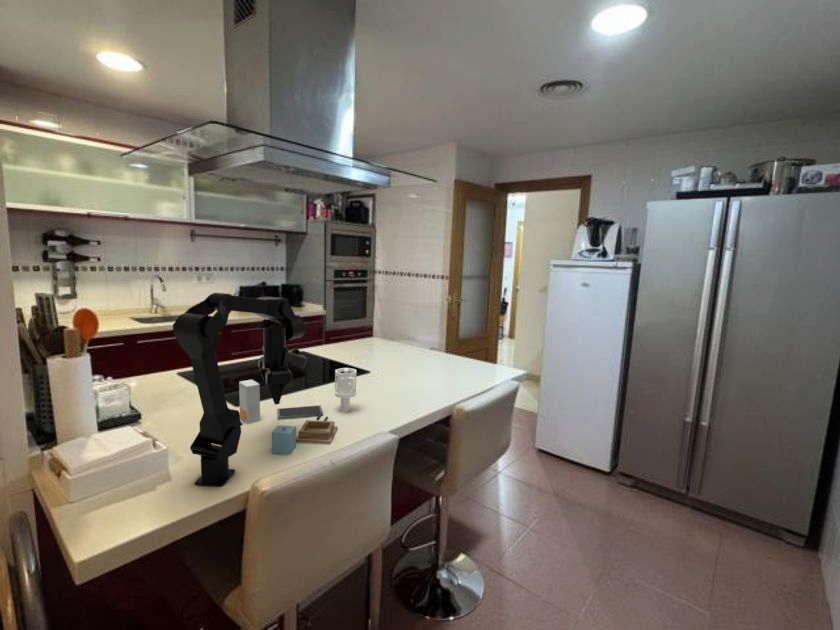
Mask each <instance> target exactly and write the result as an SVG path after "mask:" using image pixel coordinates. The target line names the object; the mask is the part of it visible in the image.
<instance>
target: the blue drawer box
mask: <svg viewBox="0 0 840 630" xmlns="http://www.w3.org/2000/svg"><path fill="white" fill-rule="evenodd" d="M296 437H297V426H296V425H276V426H275V428H274V429H273V430H272V431H271V454H272V455H292V454H293V453H294V450H295V449H296V447H297V443H296Z"/></svg>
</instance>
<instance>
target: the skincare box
mask: <svg viewBox="0 0 840 630" xmlns="http://www.w3.org/2000/svg"><path fill="white" fill-rule="evenodd" d="M238 382H239V383H238V384H239V385H238V389H239V395H238V397H239V413H240V419H241V420H243V421H244V422H245V423H246V424H251V423H255V422H259V421H261V404H260V403H261V397H260V395H261V394H260V393H261V390H260V389H261V388H260V385H261V384H260V383H258V382H257V381H255V380H254V379H248V380H240V381H238Z"/></svg>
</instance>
